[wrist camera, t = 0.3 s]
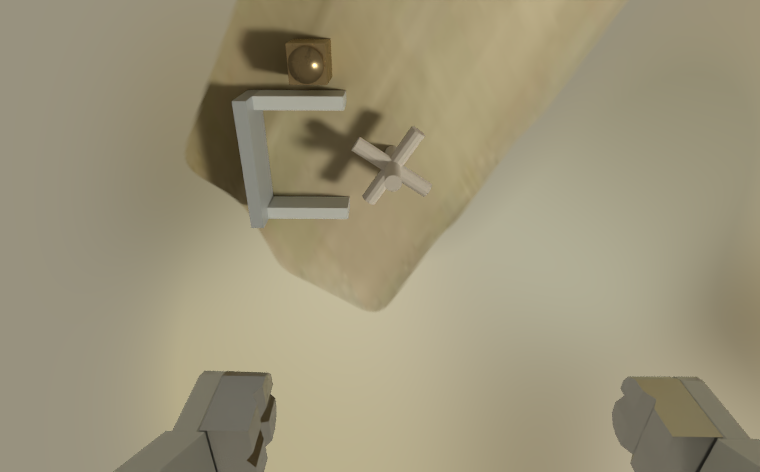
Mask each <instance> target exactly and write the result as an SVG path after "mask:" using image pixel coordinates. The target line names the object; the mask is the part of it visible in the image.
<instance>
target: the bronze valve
mask: <svg viewBox="0 0 760 472" xmlns="http://www.w3.org/2000/svg"><path fill="white" fill-rule="evenodd" d="M285 45H286V56H287V66H288V77H289V85H327V84H328V83H329V81H330V80H331V78H332V60H331V40H330V39H293V40H291V41H289V42H287V43H285Z"/></svg>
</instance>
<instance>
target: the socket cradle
mask: <svg viewBox="0 0 760 472" xmlns="http://www.w3.org/2000/svg"><path fill="white" fill-rule="evenodd" d="M345 106H346V90H246V91H245V92H244V93H242V94H241V95H240V96H238V97H237V98H235V99H234V100H233V101H232V107H233V113H234V120H235V126H236V132H237V139H238V145H239V151H240V158H241V164H242V170H243V177H244V183H245V189H246V196H247V202H248V209H249V215H250V221H251V227H252V228H264V227H265V225H266V223H267V221H268V219H348V216H349V210H350V197H312V196H273V188H272V181H271V173H270V165H269V157H268V149H267V141H266V133H265V125H264V117H263V110H344V108H345Z"/></svg>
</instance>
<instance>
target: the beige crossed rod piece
mask: <svg viewBox="0 0 760 472" xmlns="http://www.w3.org/2000/svg"><path fill="white" fill-rule="evenodd" d="M424 136H425V135H424V133H423V132H422V131H420V130H419V129H418V128H416V127H414V126H412V127H411V128H410V130H409V131H408V132H407V134H406V135H405V137H404V138H403V139H402V141H401V142H400V144H399V145H398V146H397V147H396V146H389V147H387V148H386V150H385V153H384V152H382V151H381V150H379V149H378V148H376V147H375V146H373V145H372V144H370V143H369V142H367V141H366V140H364V139H362V138H361V137H359V138H358V139H357V141H356V142H355V144H354V145H353V147H352V151H353V152H355V153H356V154H358V155H359V156H361V157H362V158H364V159H366V160H367V161H369V162H370V163H372V164H373V165H375V166H377V167H378V168H380V169H381V170H380V172H379V173H378V174H377V176H376V177H375V179H374V180H373V182H372V183H371V184H370V186H369V187H368V189H367V190H366V191H365V193H364V194H363V198H364V200H365V201H367V202H368V203H370V204H372V205H374V204H375V203H376V202H377V200H378V199H379V198H380V196H381V195H382V194H383V192H384V191H385V189H388V190H389V191H397V190H399V189H400V188H401V185H402V183H403V184H405V185H406V186H408V187H409V188H411V189H412V190H414V191H416V192H417V193H419V194H420V195H422V196H423V197H424V196H426V195H427V194H428V193H429V191H430V189H431V187H432V184H431V183H430V182H428V181H427V180H425V179H424V178H422V177H421V176H419V175H418V174H416V173H414V172H413V171H411V170H410V169H408V168H407V167H405V166H404V164H405V162H406V161H407V160H408V158H409V157H410V155H411V154H412V153H413V151H414V150H415V149H416V147H417V146H418V145H419V143H420V142H421V141H422V139H423V138H424Z"/></svg>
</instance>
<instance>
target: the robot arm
mask: <svg viewBox="0 0 760 472" xmlns="http://www.w3.org/2000/svg"><path fill="white" fill-rule="evenodd" d="M272 385H273V383H272V377H271V374H270V373H261V372H234V371H226V372H223V371H222V372H221V371H204V372H203V373H202V374H201V375H200V376H199V378H198V380H197V382H196V384H195V386H194V388H193V390H192V392H191V394H190V396H189V398H188V400H187V402H186V404H185V406H184V408H183V410H182V413H181V414H180V416H179V418H178V421H177V423H176V424H175V426H174V428H173V431H165V432H164V433H163V434H161V435H160V436H159V437H157V438H156V439H155V440H154V441H152V442H151V443H150V444H148V445H147V446H146V447H144V448H143V449H142V450H141V451H139V452H138V453H137V454H135V455H134V456H133V457H132V458H130V459H129V460H128V461H126V462H125V463H124V464H123V465H121V466H120V467H119V468H117V469H116V470H115V471H113V472H264V469H265V465H266V462H267V453H266V448H265V447H266V446H267V444H269V443H270V442H271V441H272V438H273V434H274V430H275V422H276V401H275V398H274V397H273V396H272V395H271V394H270V393H271V389H272ZM621 390H622V392H623V394H624V395H625V396H623V397H622V398H621V399H619V400H618V401H616V402H615V405H614V409H613V412H612V417H613V427H614V430H615V434H616V436H617V438H618V440H619V442H620V444H621V445H622V446H623V447H624V448H625V449H627V450H628V451H629V452H630V453H632V454H633V455H632V459H631V465H632V467H633V469H634V471H635V472H760V440H759V439H750V437H749V436H748V435H747V434H746V432H745V431H744V430H743V429H742V428H741V426H740V425H739V424H738V423H737V422H736V420H735V419H734V418H733V417H732V415H731V414H730V413H729V412H728V410H727V409H726V408H725V407H724V406H723V405H722V403H721V402H720V401H719V400H718V398H717V397H716V396H715V395H714V394H713V392H712V391H711V390H710V389H709V387H708V386H707V385H706V384H705V382H704V381H702V380H701V379H699V378H698V377H627V378H626V379H625V380H624V381H623V383H622V386H621Z"/></svg>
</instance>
